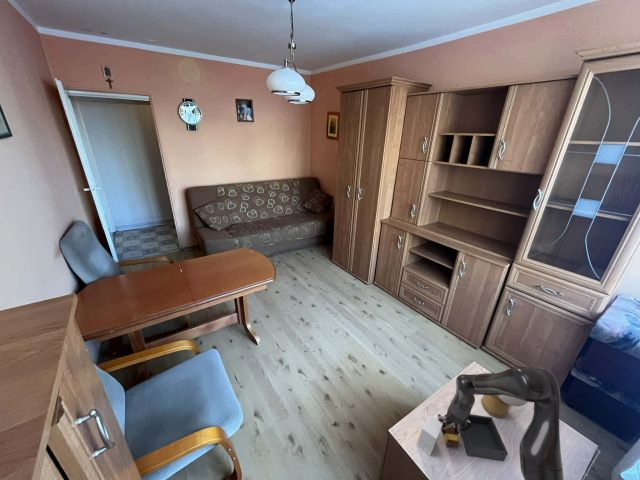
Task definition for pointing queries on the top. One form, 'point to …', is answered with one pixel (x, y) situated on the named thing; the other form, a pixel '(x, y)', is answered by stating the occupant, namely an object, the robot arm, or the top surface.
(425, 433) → the small box
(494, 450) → the dark gray rectangular tray
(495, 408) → the lamp
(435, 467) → the top surface
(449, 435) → the chocolate bar
